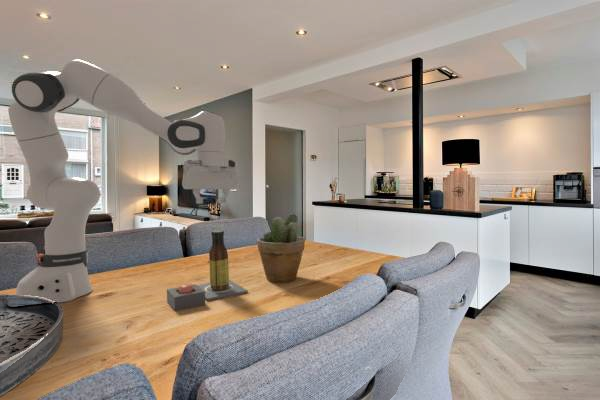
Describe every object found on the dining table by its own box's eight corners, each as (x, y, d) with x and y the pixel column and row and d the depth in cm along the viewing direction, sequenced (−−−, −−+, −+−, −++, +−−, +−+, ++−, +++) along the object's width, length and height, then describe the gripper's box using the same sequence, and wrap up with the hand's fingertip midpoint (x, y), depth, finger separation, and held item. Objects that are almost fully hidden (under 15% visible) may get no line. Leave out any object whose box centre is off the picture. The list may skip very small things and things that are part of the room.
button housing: (174, 310, 98) (174, 297, 98) (167, 301, 106) (166, 289, 105) (205, 304, 103) (205, 291, 103) (195, 296, 111) (195, 284, 110)
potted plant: (299, 287, 120) (299, 217, 119) (250, 284, 124) (249, 216, 123) (308, 273, 138) (308, 212, 137) (265, 271, 142) (264, 212, 141)
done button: (180, 299, 101) (180, 288, 101) (176, 295, 105) (176, 285, 105) (194, 296, 104) (194, 286, 104) (190, 293, 107) (190, 283, 107)
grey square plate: (207, 301, 106) (207, 298, 106) (191, 288, 119) (191, 285, 119) (247, 292, 114) (247, 290, 114) (229, 281, 127) (228, 279, 127)
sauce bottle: (231, 285, 119) (231, 229, 116) (225, 291, 113) (225, 233, 110) (213, 283, 119) (213, 228, 117) (206, 290, 113) (206, 232, 111)
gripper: (189, 158, 103) (189, 204, 103) (241, 163, 119) (241, 202, 119) (178, 159, 107) (178, 203, 107) (229, 164, 123) (229, 202, 123)
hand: (211, 203), depth 113 cm, fingers open, 8 cm apart
